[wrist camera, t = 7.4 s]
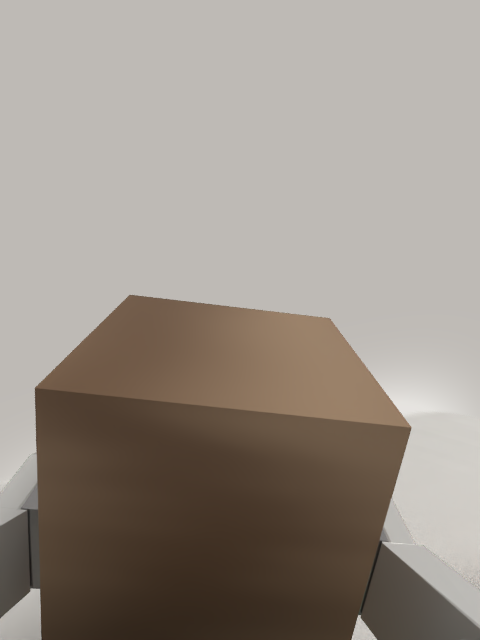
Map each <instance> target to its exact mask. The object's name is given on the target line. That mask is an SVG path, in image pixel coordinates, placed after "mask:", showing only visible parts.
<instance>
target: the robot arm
mask: <svg viewBox="0 0 480 640" xmlns="http://www.w3.org/2000/svg"><path fill="white" fill-rule="evenodd" d="M30 588H33V589H40V559H39V521H38V484H37V453H34V454H32V455H30V456H29V457H28V459H27V460H26V461H25V462H24V464H23V465H22V466H21V468H20V469H19V470H18V471H17V472H16V474H15V475H14V476H13V478H12V479H11V480H10V481H9V483H8V484H7V485H6V486H5V488H4V489H3V490H2V492H1V493H0V618H1V617H2V616H3V615H4V614H5V613H7V612H8V611H9V610H10V609H11V608H12V607H13V606H14V605H16V604H17V603H18V602H19V601H20V600H21V599H22V598H23V597H25V596H26V595H27V594H28V593H29V592H30ZM358 615H361V619H362V620H363V621H364V623H365V624H366V625H367V626H368V628H369V629H370V630H371V632H372V633H373V634H374V636H375V637H376V638H377V640H480V590H479V589H478V588H477V587H475V586H474V585H473V584H472V583H470V582H469V581H468V580H467V579H465V578H464V577H463V576H462V575H460V574H459V573H458V572H456V571H455V570H454V569H453V568H451V567H450V566H449V565H448V564H446V563H445V562H444V561H443V560H441V559H440V558H439V557H438V556H436V555H435V554H434V553H432V552H431V551H430V550H429V549H427V548H426V547H425V546H424V545H416V543H415V541H414V539H413V537H412V535H411V533H410V531H409V530H408V528H407V526H406V524H405V522H404V520H403V518H402V516H401V514H400V512H399V510H398V509H397V507H396V505H395V503H394V501H393V499H392V498H391V501H390V505H389V508H388V512H387V515H386V519H385V522H384V526H383V529H382V533H381V536H380V540H379V543H378V547H377V550H376V554H375V558H374V561H373V565H372V568H371V572H370V575H369V579H368V582H367V586H366V589H365V593H364V596H363V600H362V603H361V607H360V610H359V614H358Z"/></svg>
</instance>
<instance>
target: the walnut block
mask: <svg viewBox="0 0 480 640" xmlns="http://www.w3.org/2000/svg"><path fill="white" fill-rule="evenodd" d="M35 405H36V406H35V409H36V446H37V484H38V521H39V559H40V597H41V634H42V640H351V638H352V635H353V631H354V628H355V624H356V621H357V617H358V614H359V610H360V607H361V603H362V600H363V596H364V593H365V589H366V586H367V582H368V579H369V575H370V572H371V568H372V565H373V561H374V558H375V554H376V550H377V547H378V543H379V540H380V536H381V533H382V529H383V526H384V522H385V519H386V515H387V512H388V508H389V505H390V501H391V498H392V494H393V491H394V487H395V484H396V480H397V477H398V473H399V470H400V466H401V463H402V459H403V456H404V452H405V449H406V445H407V442H408V438H409V435H410V431H411V426H410V425H409V424H408V422H407V421H406V420H405V418H404V417H403V416H402V414H401V413H400V412H399V410H398V409H397V408H396V406H395V405H394V404H393V402H392V401H391V400H390V398H389V397H388V396H387V394H386V393H385V392H384V390H383V389H382V387H381V386H380V385H379V383H378V382H377V381H376V380H375V378H374V377H373V375H372V374H371V373H370V371H369V370H368V369H367V368H366V366H365V365H364V363H363V362H362V361H361V359H360V358H359V357H358V356H357V354H356V353H355V351H354V350H353V349H352V347H351V346H350V345H349V344H348V342H347V341H346V340H345V338H344V337H343V335H342V334H341V333H340V331H339V330H338V329H337V327H335V325H334V323H333V322H332V321H331V319H329V318H322V317H313V316H306V315H297V314H289V313H279V312H271V311H263V310H255V309H246V308H237V307H229V306H220V305H212V304H204V303H195V302H186V301H178V300H169V299H161V298H152V297H144V296H135V295H129V296H128V297H127V298H126V299H125V300H124V301H123V302H122V303H121V304H120V305H119V306H118V307H117V308H116V309H115V310H114V311H113V312H112V313H111V314H110V315H109V316H108V317H107V318H106V319H105V320H104V321H103V322H102V323H101V324H100V325H99V326H98V327H97V328H96V329H95V330H94V331H93V332H91V334H89V336H88V337H86V338H85V339H84V340H83V341H82V342H81V343H80V344H79V345H78V346H77V347H76V348H75V349H74V350H73V351H72V352H71V353H70V354H69V355H68V356H67V357H66V358H65V359H64V360H63V361H62V362H61V363H60V364H59V365H58V366H57V367H56V368H55V369H54V370H53V371H52V372H51V373H50V374H49V375H48V376H47V377H46V378H45V379H44V380H43V381H42V382H41V383H40V384H39V385H38V386H36V387H35Z"/></svg>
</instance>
